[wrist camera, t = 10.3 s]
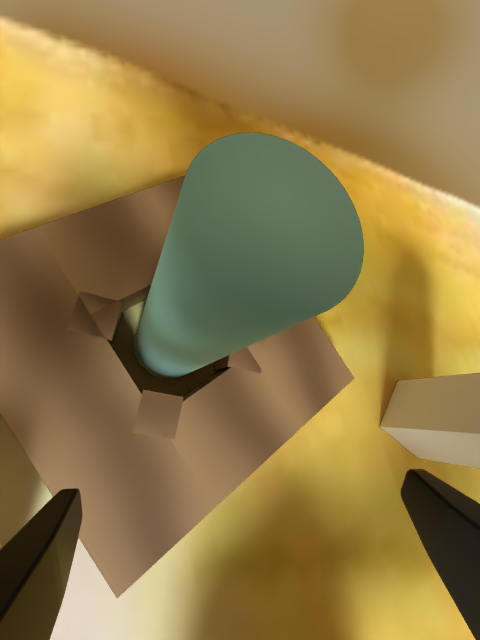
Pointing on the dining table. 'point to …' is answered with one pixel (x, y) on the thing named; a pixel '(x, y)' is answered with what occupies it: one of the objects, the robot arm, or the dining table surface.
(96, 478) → the socket board
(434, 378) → the square dowel
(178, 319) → the round dowel
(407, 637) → the dining table surface
